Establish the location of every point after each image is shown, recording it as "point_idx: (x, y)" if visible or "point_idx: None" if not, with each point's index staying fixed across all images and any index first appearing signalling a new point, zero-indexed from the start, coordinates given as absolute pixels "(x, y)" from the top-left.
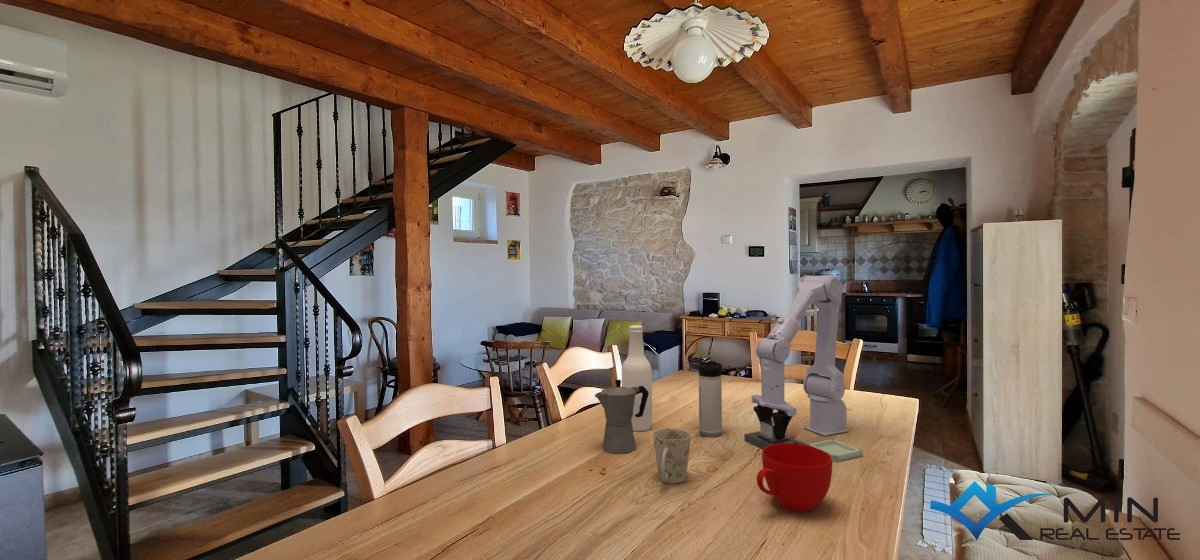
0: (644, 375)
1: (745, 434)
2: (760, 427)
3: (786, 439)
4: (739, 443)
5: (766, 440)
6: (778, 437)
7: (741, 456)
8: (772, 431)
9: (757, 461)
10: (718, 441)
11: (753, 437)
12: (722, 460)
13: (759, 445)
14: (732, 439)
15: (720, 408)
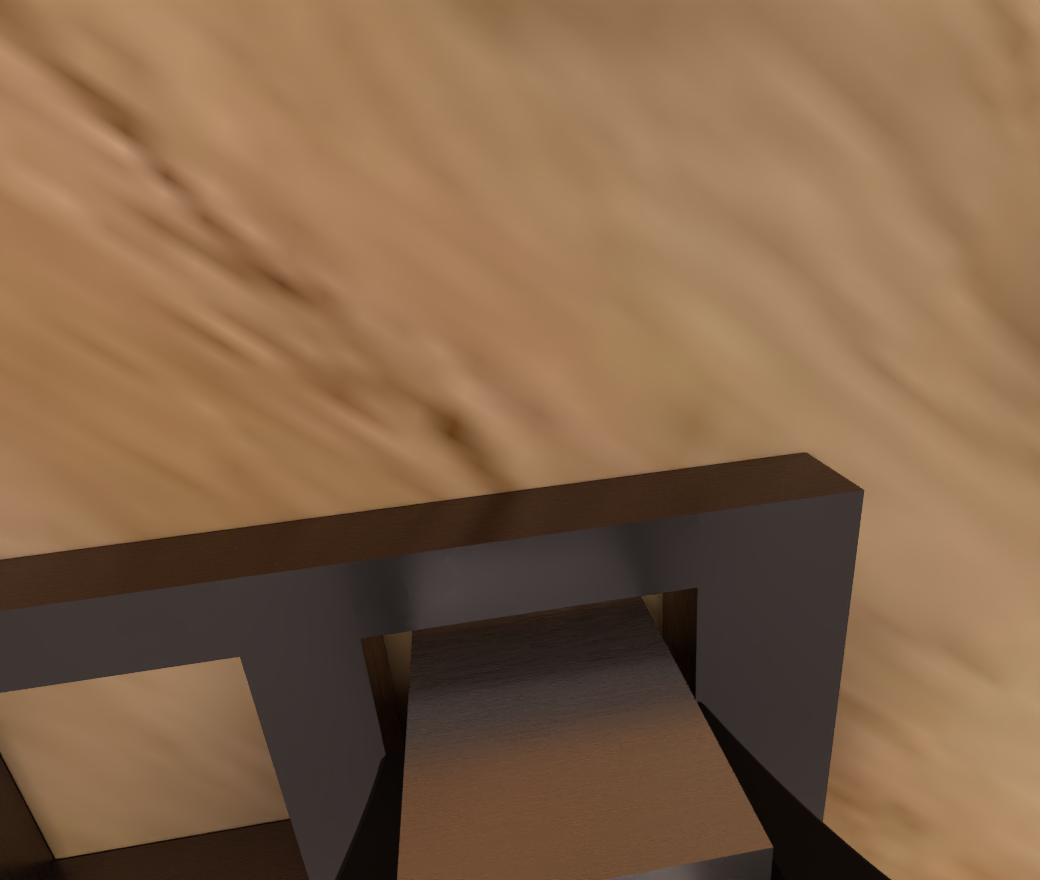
0: None
1: (846, 497)
2: (715, 740)
3: None
4: (765, 338)
5: (532, 639)
6: (376, 792)
7: (282, 23)
8: (402, 812)
9: (6, 150)
10: (987, 78)
11: (689, 535)
12: None
13: (518, 505)
14: (928, 334)
15: None
